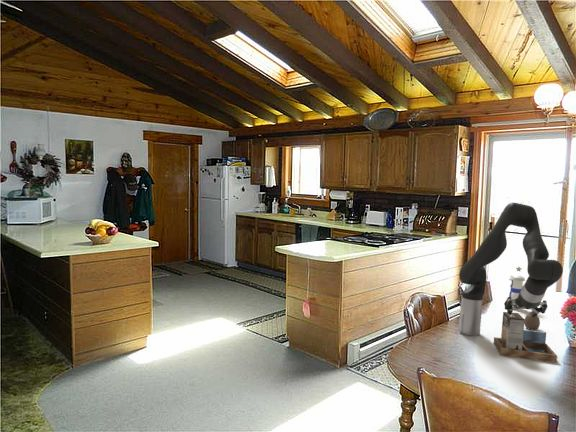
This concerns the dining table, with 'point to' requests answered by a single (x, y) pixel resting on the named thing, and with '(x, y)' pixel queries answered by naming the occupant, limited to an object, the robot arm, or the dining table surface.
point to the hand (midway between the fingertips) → (520, 314)
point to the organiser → (529, 347)
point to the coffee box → (512, 331)
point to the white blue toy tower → (516, 286)
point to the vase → (532, 322)
